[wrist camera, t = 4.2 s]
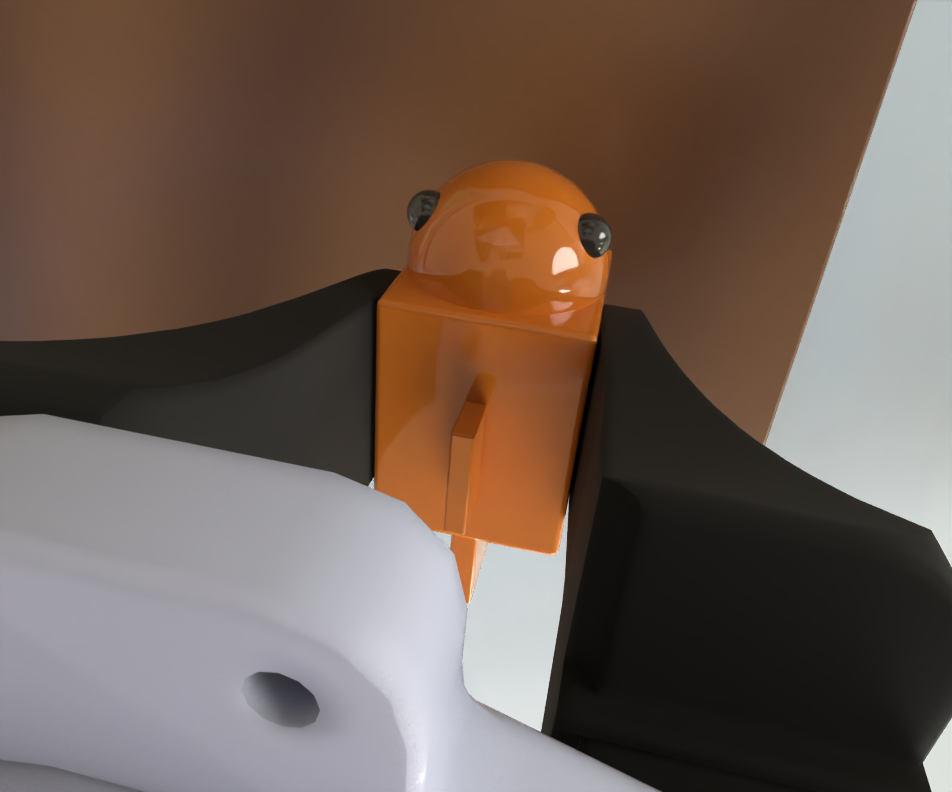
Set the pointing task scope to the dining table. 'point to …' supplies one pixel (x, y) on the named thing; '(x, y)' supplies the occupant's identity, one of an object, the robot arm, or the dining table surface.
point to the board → (433, 154)
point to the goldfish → (490, 357)
